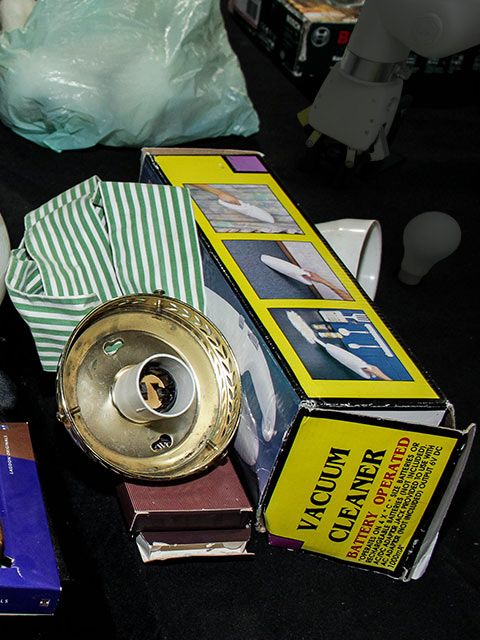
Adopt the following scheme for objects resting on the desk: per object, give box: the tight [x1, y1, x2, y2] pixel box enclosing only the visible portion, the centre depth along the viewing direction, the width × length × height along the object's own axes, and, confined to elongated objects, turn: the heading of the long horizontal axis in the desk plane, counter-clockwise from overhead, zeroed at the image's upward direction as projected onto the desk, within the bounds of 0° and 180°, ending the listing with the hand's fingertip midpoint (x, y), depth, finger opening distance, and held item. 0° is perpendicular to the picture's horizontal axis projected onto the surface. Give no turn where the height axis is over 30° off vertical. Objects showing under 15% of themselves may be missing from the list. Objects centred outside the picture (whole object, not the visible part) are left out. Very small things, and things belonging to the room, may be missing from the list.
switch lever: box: [323, 140, 348, 164], centre depth 129 cm, size 13×3×3 cm
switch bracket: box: [321, 94, 415, 181], centre depth 131 cm, size 10×8×12 cm
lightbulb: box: [397, 211, 462, 286], centre depth 110 cm, size 6×6×11 cm
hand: (324, 176), depth 131 cm, fingers open, 4 cm apart
